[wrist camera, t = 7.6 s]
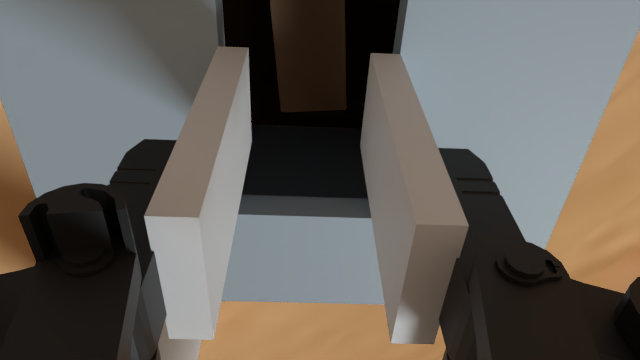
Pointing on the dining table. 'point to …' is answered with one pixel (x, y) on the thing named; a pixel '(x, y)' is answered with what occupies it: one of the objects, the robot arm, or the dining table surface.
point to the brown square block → (310, 54)
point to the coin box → (317, 142)
